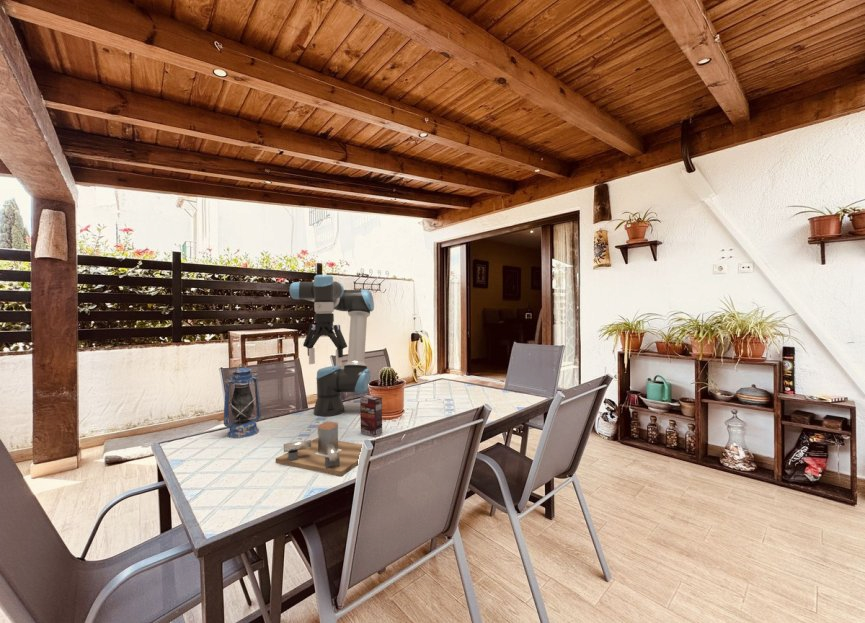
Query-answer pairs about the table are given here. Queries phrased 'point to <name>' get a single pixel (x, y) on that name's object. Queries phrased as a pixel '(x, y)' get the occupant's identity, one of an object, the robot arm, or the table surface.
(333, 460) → the shaft
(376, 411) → the supplement box
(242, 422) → the lantern
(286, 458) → the cradle board
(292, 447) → the shaft
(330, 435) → the block
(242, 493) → the table surface
